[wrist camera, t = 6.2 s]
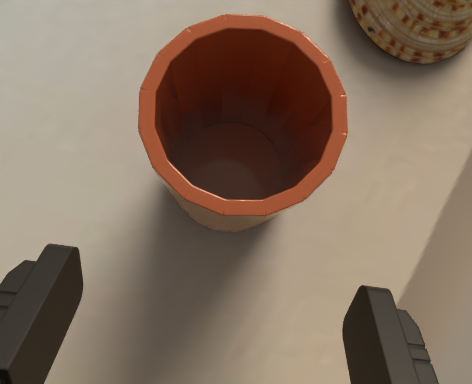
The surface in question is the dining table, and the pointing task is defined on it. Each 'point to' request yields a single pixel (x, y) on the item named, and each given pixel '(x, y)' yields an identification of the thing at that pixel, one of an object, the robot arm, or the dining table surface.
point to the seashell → (416, 27)
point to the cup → (241, 119)
